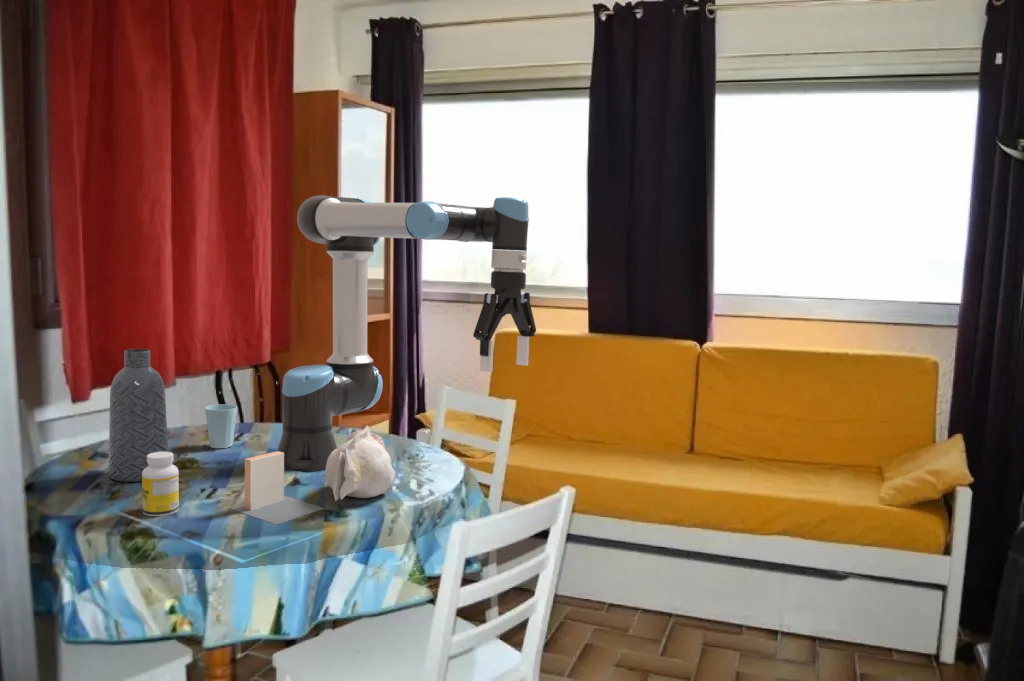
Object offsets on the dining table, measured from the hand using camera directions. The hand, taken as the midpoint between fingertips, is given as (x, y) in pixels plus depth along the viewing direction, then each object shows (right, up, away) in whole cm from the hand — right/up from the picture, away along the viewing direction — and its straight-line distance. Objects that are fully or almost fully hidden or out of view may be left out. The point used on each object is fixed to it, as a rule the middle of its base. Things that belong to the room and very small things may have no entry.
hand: (504, 368), depth 169 cm
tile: (-48, -27, -13) cm, 57 cm away
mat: (-45, -28, -15) cm, 55 cm away
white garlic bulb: (-32, -27, -4) cm, 42 cm away
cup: (-74, -22, +31) cm, 83 cm away
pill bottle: (-67, -28, -19) cm, 75 cm away
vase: (-82, -24, +5) cm, 86 cm away
